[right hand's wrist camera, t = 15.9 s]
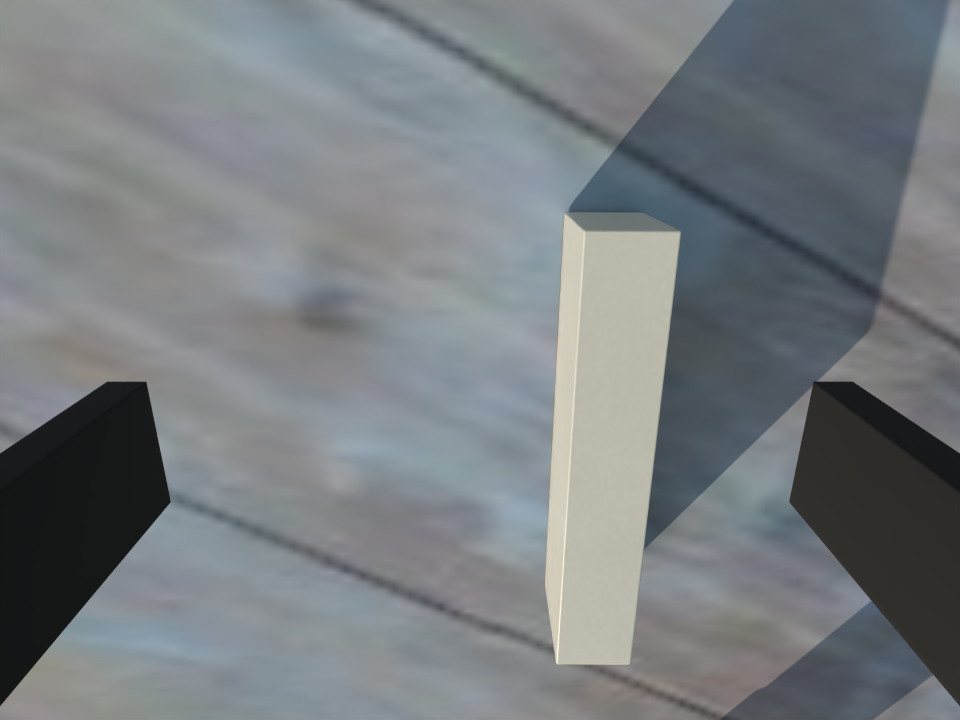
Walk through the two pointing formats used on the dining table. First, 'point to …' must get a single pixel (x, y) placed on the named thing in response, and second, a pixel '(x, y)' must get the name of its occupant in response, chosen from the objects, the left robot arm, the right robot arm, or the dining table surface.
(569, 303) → the beam
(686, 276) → the dining table surface
